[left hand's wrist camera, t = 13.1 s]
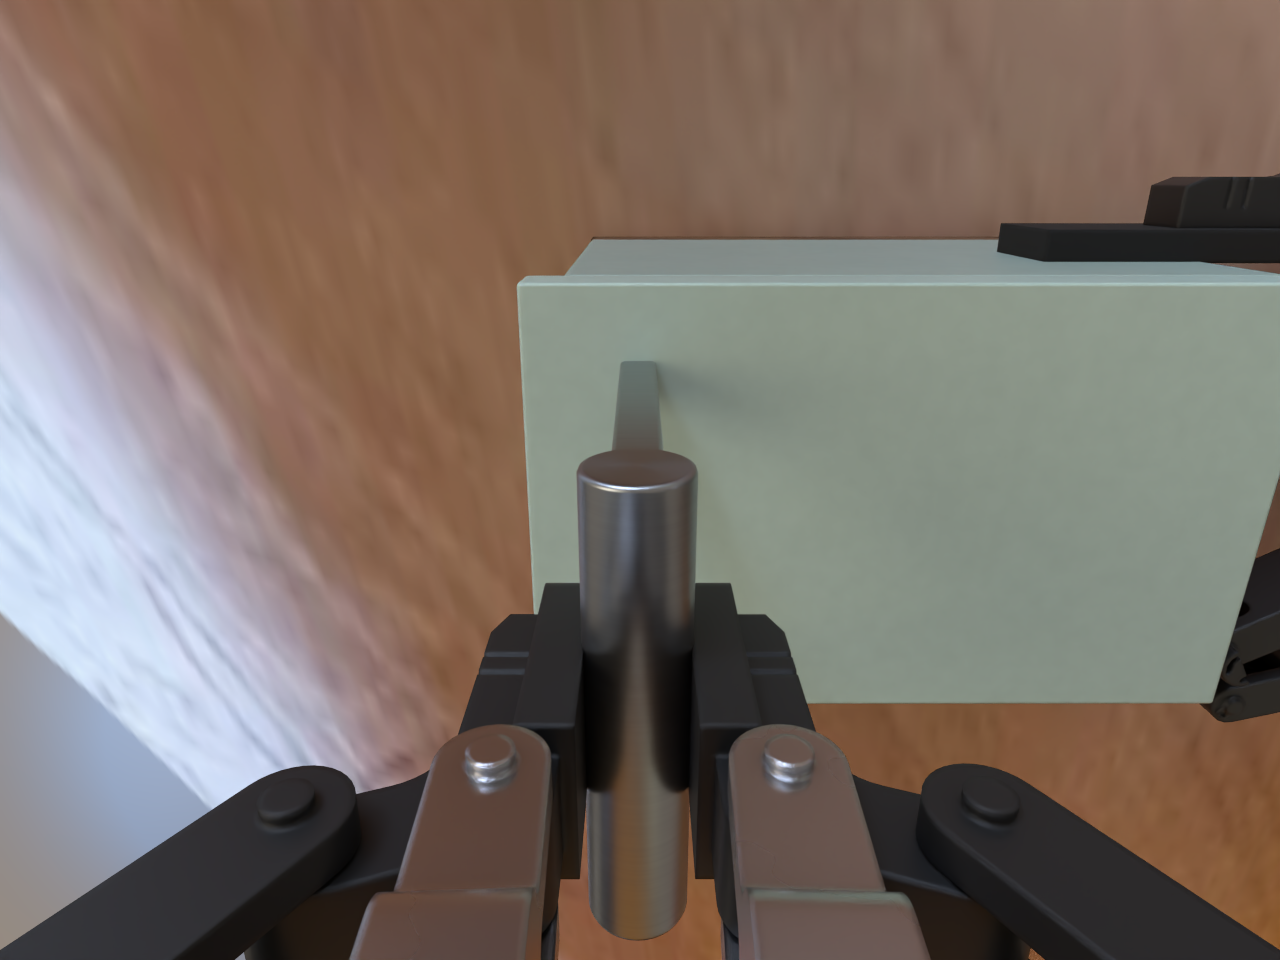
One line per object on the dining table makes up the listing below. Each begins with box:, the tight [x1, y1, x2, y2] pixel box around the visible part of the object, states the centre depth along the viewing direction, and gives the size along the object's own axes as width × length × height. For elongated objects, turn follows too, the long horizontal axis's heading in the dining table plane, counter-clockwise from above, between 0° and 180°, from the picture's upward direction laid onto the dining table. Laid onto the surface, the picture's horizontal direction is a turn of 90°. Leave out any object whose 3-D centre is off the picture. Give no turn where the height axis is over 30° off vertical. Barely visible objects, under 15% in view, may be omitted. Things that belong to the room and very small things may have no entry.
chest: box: [564, 237, 1280, 276], centre depth 23 cm, size 15×10×11 cm, turn 90°
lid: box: [517, 276, 1280, 940], centre depth 14 cm, size 16×10×9 cm, turn 90°
